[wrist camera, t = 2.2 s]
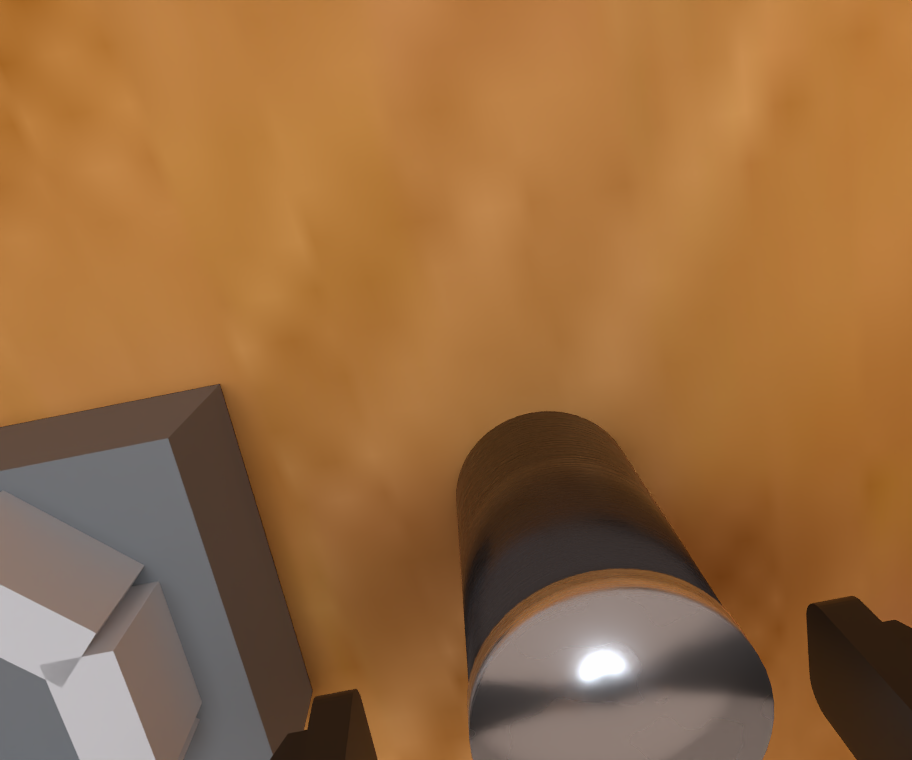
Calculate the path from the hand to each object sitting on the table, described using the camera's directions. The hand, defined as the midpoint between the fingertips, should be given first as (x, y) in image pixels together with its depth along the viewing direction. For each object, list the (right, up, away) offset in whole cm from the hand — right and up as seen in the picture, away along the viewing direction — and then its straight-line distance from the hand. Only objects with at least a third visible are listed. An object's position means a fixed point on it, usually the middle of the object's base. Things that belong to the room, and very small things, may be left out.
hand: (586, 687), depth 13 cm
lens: (0, +2, +8) cm, 8 cm away
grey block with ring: (-14, -1, +8) cm, 16 cm away
